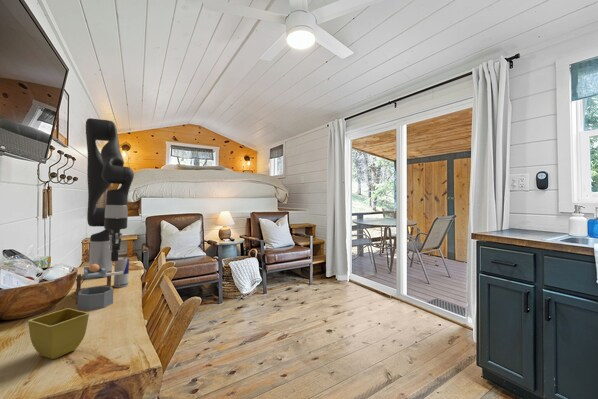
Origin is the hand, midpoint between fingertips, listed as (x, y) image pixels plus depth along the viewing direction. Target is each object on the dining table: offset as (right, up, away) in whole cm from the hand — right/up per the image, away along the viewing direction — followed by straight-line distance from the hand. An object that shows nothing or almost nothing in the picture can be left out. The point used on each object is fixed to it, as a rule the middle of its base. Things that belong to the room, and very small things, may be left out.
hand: (114, 260), depth 109 cm
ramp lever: (-6, -7, +2) cm, 10 cm away
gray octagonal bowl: (-1, -14, -9) cm, 16 cm away
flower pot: (+13, -14, -40) cm, 44 cm away
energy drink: (-6, -14, +13) cm, 20 cm away
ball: (-11, -4, +4) cm, 13 cm away
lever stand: (-9, -14, +1) cm, 16 cm away
